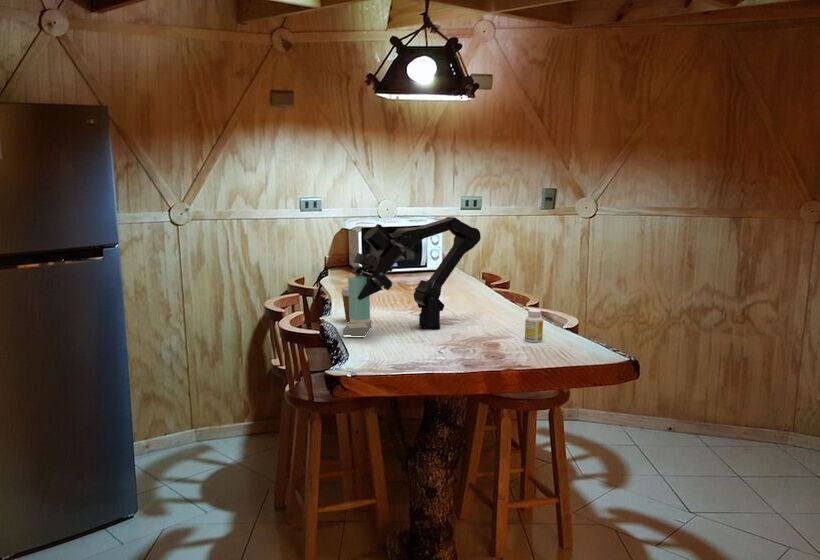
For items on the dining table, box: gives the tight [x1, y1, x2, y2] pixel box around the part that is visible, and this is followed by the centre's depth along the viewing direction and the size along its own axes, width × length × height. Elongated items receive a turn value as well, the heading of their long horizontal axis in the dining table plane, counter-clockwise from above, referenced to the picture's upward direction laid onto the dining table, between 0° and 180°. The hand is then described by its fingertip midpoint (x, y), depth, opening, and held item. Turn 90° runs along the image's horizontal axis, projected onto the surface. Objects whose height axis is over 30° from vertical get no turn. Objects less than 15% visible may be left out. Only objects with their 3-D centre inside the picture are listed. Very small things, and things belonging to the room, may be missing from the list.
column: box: [347, 276, 371, 321], centre depth 197 cm, size 5×5×13 cm
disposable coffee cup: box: [340, 286, 350, 322], centre depth 219 cm, size 10×10×12 cm
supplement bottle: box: [524, 308, 544, 343], centre depth 193 cm, size 5×5×10 cm
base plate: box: [342, 318, 372, 336], centre depth 205 cm, size 8×14×4 cm, turn 175°
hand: (355, 297), depth 196 cm, fingers closed on column, 5 cm apart
